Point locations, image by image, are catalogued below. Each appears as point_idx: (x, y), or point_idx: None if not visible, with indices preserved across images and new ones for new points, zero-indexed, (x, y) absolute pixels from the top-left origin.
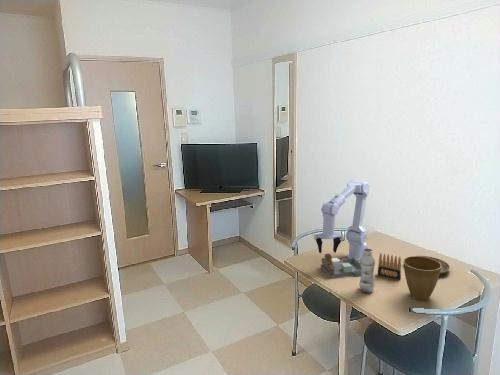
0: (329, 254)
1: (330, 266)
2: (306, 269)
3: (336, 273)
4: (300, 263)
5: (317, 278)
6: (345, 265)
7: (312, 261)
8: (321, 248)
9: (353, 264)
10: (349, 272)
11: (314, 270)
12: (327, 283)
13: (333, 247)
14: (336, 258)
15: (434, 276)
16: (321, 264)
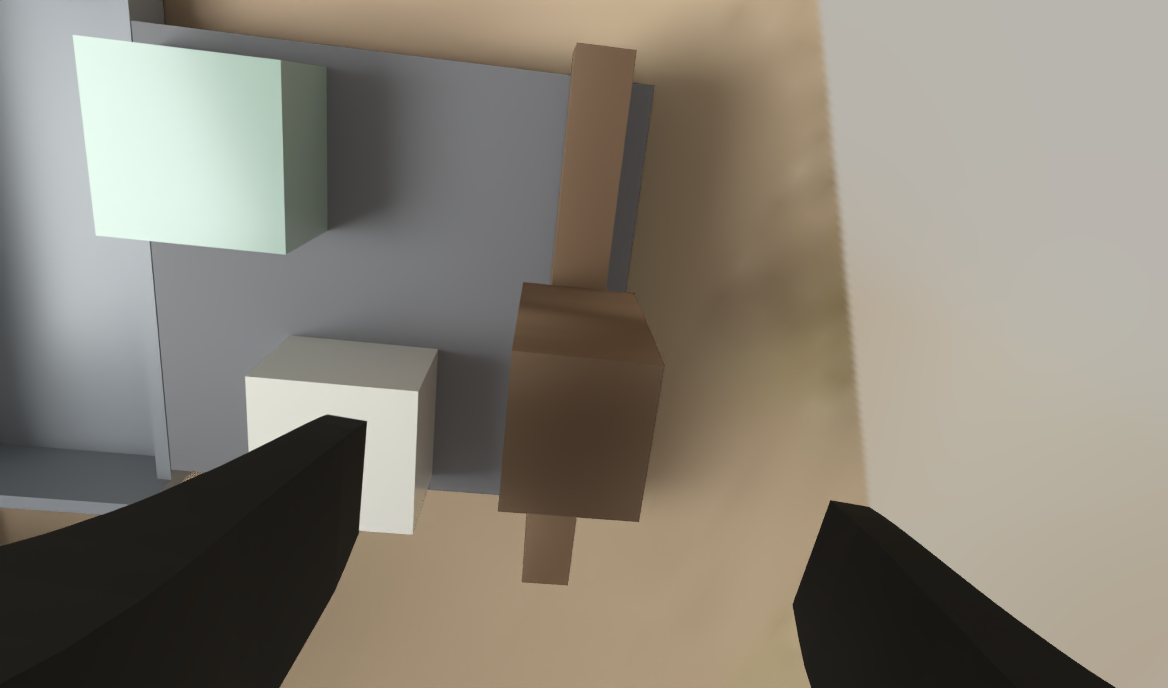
0: (517, 462)
1: (603, 187)
2: (814, 499)
3: (503, 89)
4: (787, 675)
5: (832, 174)
6: (226, 126)
7: (598, 677)
8: (938, 597)
9: (5, 391)
10: (223, 33)
11: (723, 433)
12: None
13: (300, 635)
14: None
15: None
16: None
